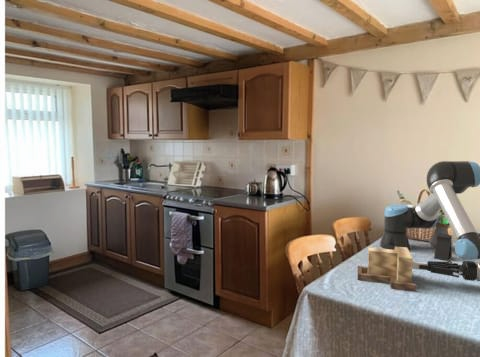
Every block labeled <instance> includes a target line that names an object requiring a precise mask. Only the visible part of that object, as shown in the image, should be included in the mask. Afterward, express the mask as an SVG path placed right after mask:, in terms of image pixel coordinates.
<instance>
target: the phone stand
mask: <svg viewBox="0 0 480 357" xmlns="http://www.w3.org/2000/svg"><path fill="white" fill-rule="evenodd" d="M452 237H453V236H452V235H450V234H449V235H445V234H439V233H438V234H437V242H436V248H434V254H433V255H434V257H433V259H435V260H441V261H444V262H448V261H450V259H451V258H452V257H453V255H452V254H453V253H452V250H453V248H452V247H453V245H452V246H451V241H452Z"/></svg>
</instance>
